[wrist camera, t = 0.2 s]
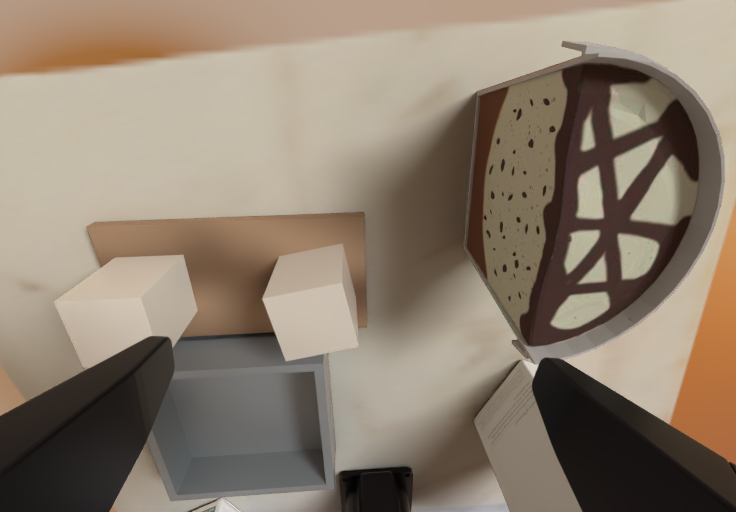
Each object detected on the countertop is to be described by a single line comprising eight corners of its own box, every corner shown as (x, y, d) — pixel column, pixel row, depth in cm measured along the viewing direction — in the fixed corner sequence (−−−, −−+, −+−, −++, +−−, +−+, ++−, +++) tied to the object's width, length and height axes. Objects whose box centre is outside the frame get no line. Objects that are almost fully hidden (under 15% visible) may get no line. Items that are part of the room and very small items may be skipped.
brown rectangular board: (366, 320, 25) (367, 327, 25) (134, 332, 25) (127, 339, 24) (363, 212, 22) (364, 216, 21) (95, 222, 21) (86, 226, 21)
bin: (335, 446, 31) (334, 489, 27) (189, 456, 30) (170, 500, 27) (325, 328, 25) (323, 363, 22) (149, 337, 25) (120, 374, 22)
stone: (197, 310, 23) (162, 363, 19) (134, 313, 23) (83, 367, 19) (183, 254, 22) (140, 297, 17) (115, 257, 21) (53, 301, 17)
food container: (550, 263, 24) (672, 364, 15) (461, 268, 24) (532, 374, 15) (592, 56, 19) (813, 25, 10) (479, 60, 19) (603, 31, 10)
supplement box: (469, 420, 30) (546, 620, 19) (520, 355, 28) (646, 542, 16) (538, 442, 32) (648, 638, 20) (593, 383, 29) (753, 570, 18)
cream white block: (356, 298, 24) (358, 346, 19) (297, 309, 24) (285, 361, 19) (342, 243, 22) (342, 282, 17) (279, 256, 22) (262, 298, 18)
